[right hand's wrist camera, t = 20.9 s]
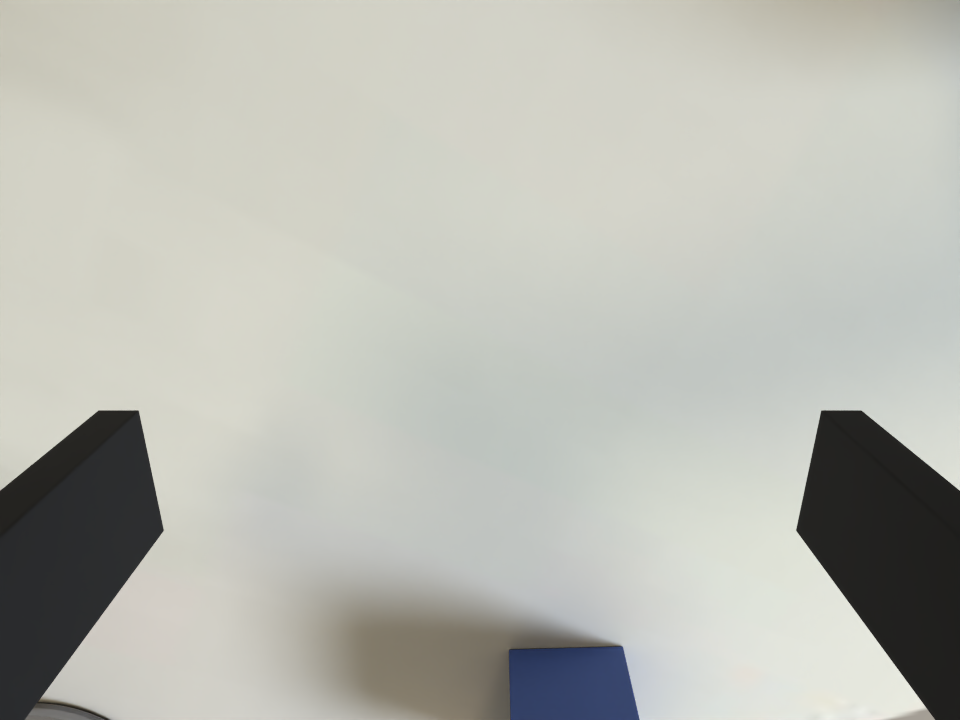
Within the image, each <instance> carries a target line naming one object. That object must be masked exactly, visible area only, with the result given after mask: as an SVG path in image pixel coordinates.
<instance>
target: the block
mask: <svg viewBox="0 0 960 720" xmlns="http://www.w3.org/2000/svg"><path fill="white" fill-rule="evenodd" d="M509 674H510V718H511V720H639V715H638V711H637V707H636V702H635V698H634V694H633V689H632V685H631V680H630V676H629V672H628V667H627V663H626V659H625V654H624V650H623V647H587V648H551V649H514V650H509Z"/></svg>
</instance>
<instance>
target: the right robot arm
mask: <svg viewBox="0 0 960 720" xmlns="http://www.w3.org/2000/svg"><path fill="white" fill-rule="evenodd" d="M163 531H164V529H163V525H162V520H161V515H160V510H159V506H158V501H157V496H156V491H155V487H154V482H153V477H152V472H151V467H150V463H149V458H148V453H147V448H146V444H145V439H144V434H143V429H142V425H141V420H140V415H139V411H98V412H96V413H95V414H94V415H93V416H92V417H90V418H89V419H88V420H87V421H85V422H84V423H83V424H82V425H80V426H79V427H78V428H77V429H76V430H74V431H73V432H72V433H71V434H69V435H68V436H67V437H66V438H64V439H63V440H62V441H61V442H60V443H58V444H57V445H56V446H55V447H53V448H52V449H51V450H50V451H49V452H47V453H46V454H45V455H44V456H42V457H41V458H40V459H39V460H37V461H36V462H35V463H34V464H33V465H31V466H30V467H29V468H28V469H26V470H25V471H24V472H23V473H22V474H20V475H19V476H18V477H17V478H15V479H14V480H13V481H12V482H10V483H9V484H8V485H7V486H6V487H4V488H3V489H2V490H1V491H0V720H25V719H26V717H27V716H28V715H29V713H30V712H31V710H32V709H33V708H34V706H35V705H36V704H37V702H38V701H39V700H40V698H41V697H42V696H43V694H44V693H45V691H46V690H47V689H48V687H49V686H50V685H51V683H52V682H53V681H54V679H55V678H56V676H57V675H58V674H59V672H60V671H61V670H62V668H63V667H64V666H65V664H66V663H67V661H68V660H69V659H70V657H71V656H72V655H73V653H74V652H75V651H76V649H77V648H78V647H79V645H80V644H81V642H82V641H83V640H84V638H85V637H86V636H87V634H88V633H89V632H90V630H91V629H92V627H93V626H94V625H95V623H96V622H97V621H98V619H99V618H100V617H101V615H102V614H103V612H104V611H105V610H106V608H107V607H108V606H109V604H110V603H111V602H112V600H113V599H114V598H115V596H116V595H117V593H118V592H119V591H120V589H121V588H122V587H123V585H124V584H125V583H126V581H127V580H128V578H129V577H130V576H131V574H132V573H133V572H134V570H135V569H136V568H137V566H138V565H139V563H140V562H141V561H142V559H143V558H144V557H145V555H146V554H147V553H148V551H149V550H150V549H151V547H152V546H153V544H154V543H155V542H156V540H157V539H158V538H159V536H160V535H161V534H162V532H163ZM796 531H797V532H798V534H799V535H800V536H801V538H802V539H803V540H804V542H805V543H806V544H807V546H808V547H809V549H810V550H811V551H812V553H813V554H814V555H815V557H816V558H817V559H818V561H819V562H820V563H821V565H822V566H823V568H824V569H825V570H826V572H827V573H828V574H829V576H830V577H831V578H832V580H833V581H834V583H835V584H836V585H837V587H838V588H839V589H840V591H841V592H842V593H843V595H844V596H845V598H846V599H847V600H848V602H849V603H850V604H851V606H852V607H853V608H854V610H855V611H856V612H857V614H858V615H859V617H860V618H861V619H862V621H863V622H864V623H865V625H866V626H867V627H868V629H869V630H870V632H871V633H872V634H873V636H874V637H875V638H876V640H877V641H878V642H879V644H880V645H881V647H882V648H883V649H884V651H885V652H886V653H887V655H888V656H889V657H890V659H891V660H892V661H893V663H894V664H895V666H896V667H897V668H898V670H899V671H900V672H901V674H902V675H903V676H904V678H905V679H906V681H907V682H908V683H909V685H910V686H911V687H912V689H913V690H914V691H915V693H916V694H917V696H918V697H919V698H920V700H921V701H922V702H923V704H924V705H925V706H926V708H927V709H928V710H929V712H930V713H931V715H932V716H933V717H934V719H935V720H960V491H959V490H958V489H957V488H956V487H954V486H953V485H952V484H951V483H950V482H948V481H947V480H946V479H945V478H943V477H942V476H941V475H940V474H938V473H937V472H936V471H935V470H934V469H932V468H931V467H930V466H929V465H927V464H926V463H925V462H924V461H923V460H921V459H920V458H919V457H918V456H916V455H915V454H914V453H913V452H911V451H910V450H909V449H908V448H907V447H905V446H904V445H903V444H902V443H900V442H899V441H898V440H897V439H896V438H894V437H893V436H892V435H891V434H889V433H888V432H887V431H886V430H884V429H883V428H882V427H881V426H880V425H878V424H877V423H876V422H875V421H873V420H872V419H871V418H870V417H868V416H867V415H866V414H865V413H864V412H862V411H821V415H820V420H819V425H818V429H817V434H816V439H815V444H814V448H813V453H812V458H811V463H810V467H809V472H808V477H807V482H806V487H805V491H804V496H803V501H802V506H801V510H800V515H799V520H798V525H797V529H796Z"/></svg>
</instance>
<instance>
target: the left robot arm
mask: <svg viewBox="0 0 960 720" xmlns="http://www.w3.org/2000/svg"><path fill="white" fill-rule="evenodd" d="M25 720H105V719H102V718H100V717H98V716H96V715H93V714H91V713H88V712H85V711H82V710H78V709H75V708H71V707H66V706H61V705H55V704H46V703H37V704H36V705H35V706H34V708H33V709H32V710H31V712H30V713H29V715H28V716H27V717H26V719H25Z"/></svg>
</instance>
